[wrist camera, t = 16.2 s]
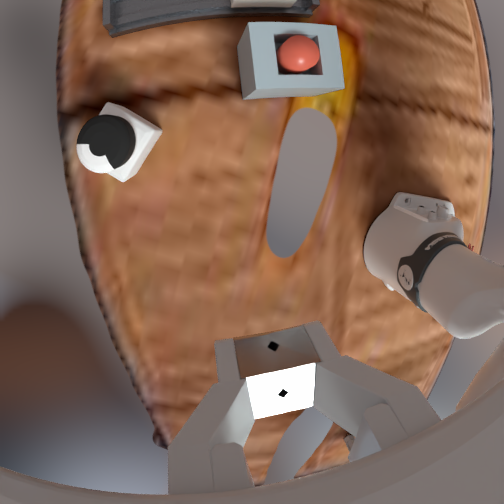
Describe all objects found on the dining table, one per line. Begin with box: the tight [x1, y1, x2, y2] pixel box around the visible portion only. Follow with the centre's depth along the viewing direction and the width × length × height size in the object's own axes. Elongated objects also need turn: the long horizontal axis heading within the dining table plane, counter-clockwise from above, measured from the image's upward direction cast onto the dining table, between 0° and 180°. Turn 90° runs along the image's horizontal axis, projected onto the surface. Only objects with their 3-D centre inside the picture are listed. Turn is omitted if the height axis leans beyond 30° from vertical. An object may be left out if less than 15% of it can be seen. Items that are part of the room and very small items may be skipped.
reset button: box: [276, 35, 320, 75], centre depth 27 cm, size 4×4×4 cm
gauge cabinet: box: [237, 22, 345, 100], centre depth 30 cm, size 10×9×10 cm
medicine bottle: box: [77, 102, 162, 182], centre depth 30 cm, size 7×7×12 cm
